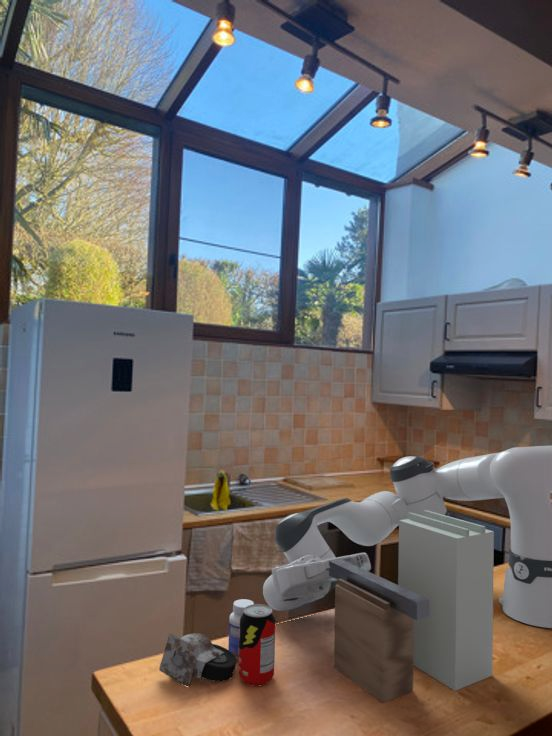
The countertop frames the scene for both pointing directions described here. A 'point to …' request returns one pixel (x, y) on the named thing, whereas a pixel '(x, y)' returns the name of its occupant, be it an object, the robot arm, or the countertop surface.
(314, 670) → the countertop surface
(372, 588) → the bar
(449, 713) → the countertop surface
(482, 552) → the stand
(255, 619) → the beverage can
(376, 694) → the chassis block
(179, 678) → the caster wheel
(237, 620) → the pill bottle
